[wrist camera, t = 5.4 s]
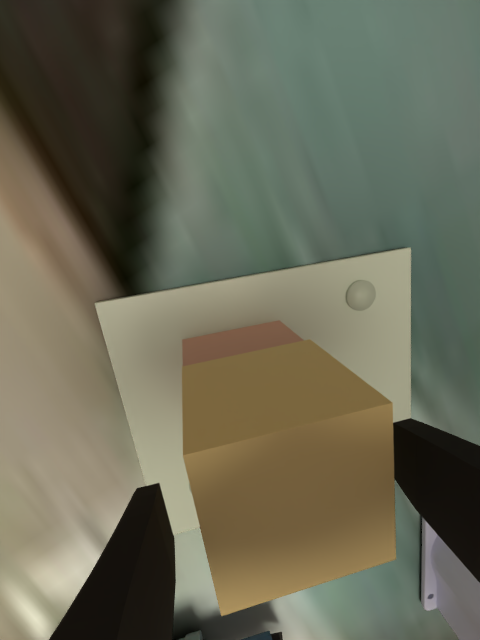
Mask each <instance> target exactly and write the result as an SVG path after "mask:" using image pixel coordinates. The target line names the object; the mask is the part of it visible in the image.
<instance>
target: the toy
mask: <svg viewBox="0 0 480 640" xmlns="http://www.w3.org/2000/svg"><path fill="white" fill-rule="evenodd" d="M178 640H203V636H202V633H201V630H200V631H196V632H192V633H189V634H187V635H186V637H185V638H182V639H178ZM241 640H283V639H282V632H278V633H274V634H270V631H267V632H264V633H260V634H257V635H254V636H251V637H248V638H244V639H241Z"/></svg>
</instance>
